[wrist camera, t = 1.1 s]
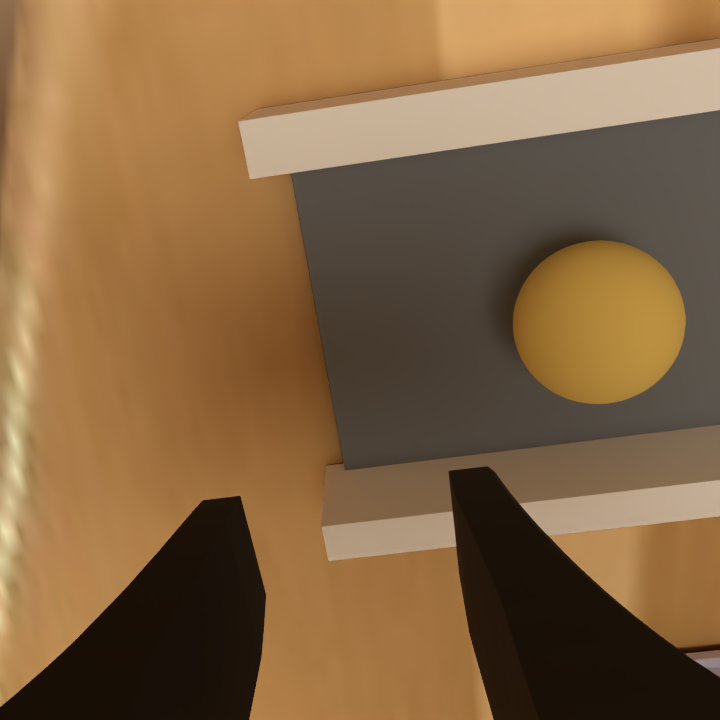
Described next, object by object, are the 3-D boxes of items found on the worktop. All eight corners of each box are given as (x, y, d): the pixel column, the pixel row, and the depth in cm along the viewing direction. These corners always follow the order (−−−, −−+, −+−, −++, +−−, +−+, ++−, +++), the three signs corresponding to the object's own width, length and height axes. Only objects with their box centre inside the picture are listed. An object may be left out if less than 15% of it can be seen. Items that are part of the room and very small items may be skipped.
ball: (645, 352, 19) (711, 423, 16) (503, 370, 20) (536, 444, 16) (649, 213, 18) (724, 256, 14) (494, 234, 18) (529, 282, 14)
